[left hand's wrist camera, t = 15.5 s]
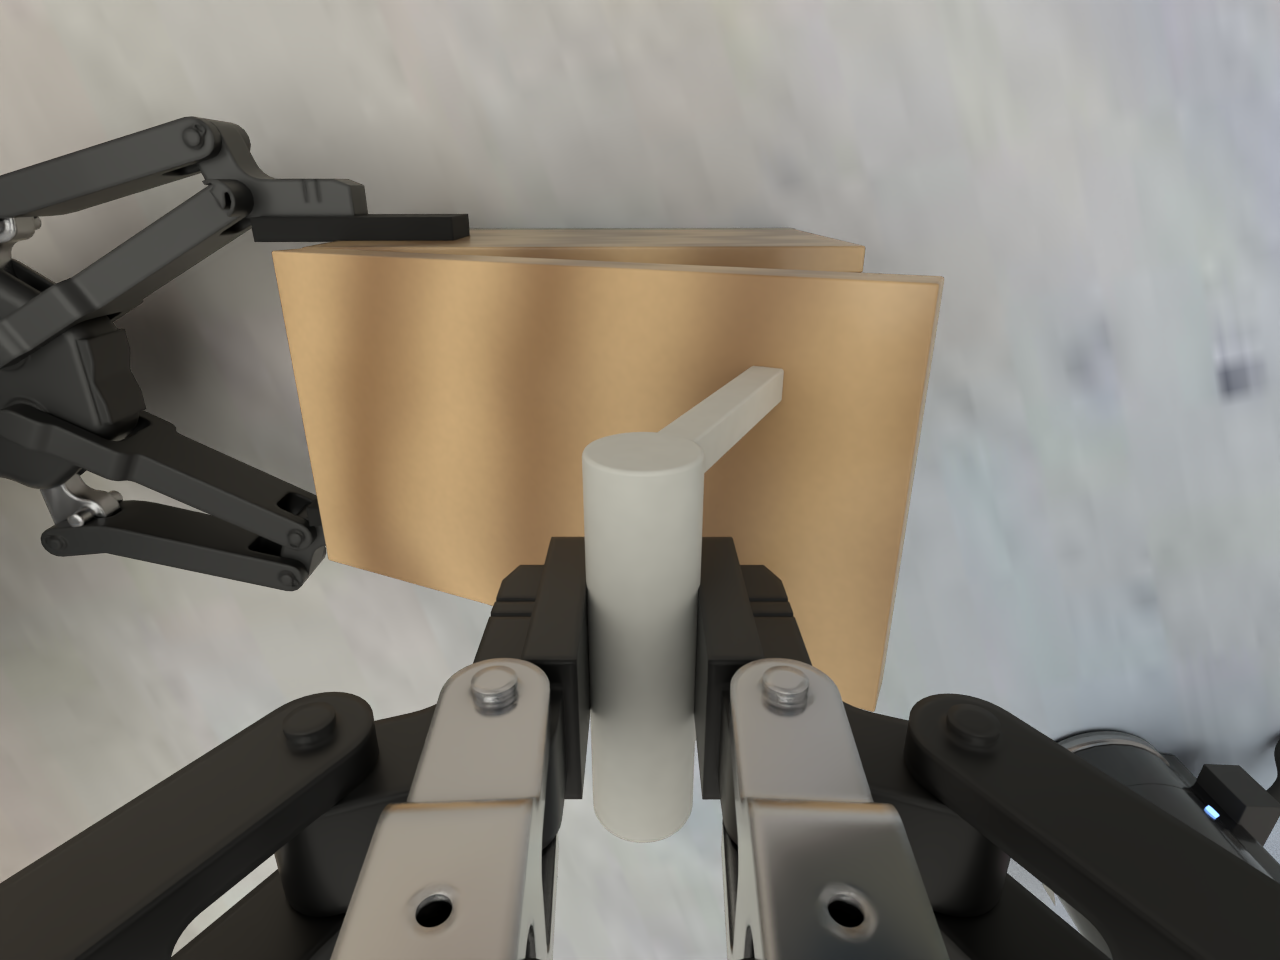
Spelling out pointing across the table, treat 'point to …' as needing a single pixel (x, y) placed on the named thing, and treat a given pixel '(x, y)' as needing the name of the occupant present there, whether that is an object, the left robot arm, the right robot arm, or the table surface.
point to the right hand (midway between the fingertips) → (474, 374)
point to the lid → (620, 456)
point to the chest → (645, 246)
